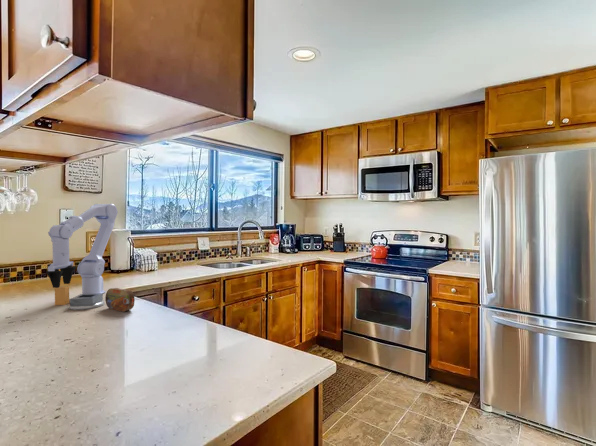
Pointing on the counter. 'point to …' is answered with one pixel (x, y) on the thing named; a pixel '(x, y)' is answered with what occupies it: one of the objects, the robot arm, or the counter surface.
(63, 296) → the tan rectangular prism
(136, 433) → the counter surface
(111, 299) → the tin
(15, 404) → the counter surface
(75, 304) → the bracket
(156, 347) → the counter surface
